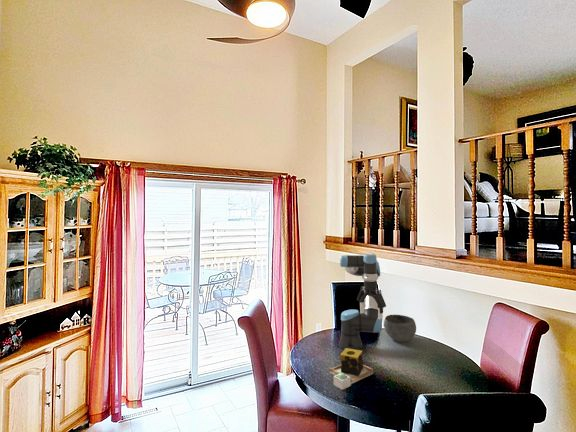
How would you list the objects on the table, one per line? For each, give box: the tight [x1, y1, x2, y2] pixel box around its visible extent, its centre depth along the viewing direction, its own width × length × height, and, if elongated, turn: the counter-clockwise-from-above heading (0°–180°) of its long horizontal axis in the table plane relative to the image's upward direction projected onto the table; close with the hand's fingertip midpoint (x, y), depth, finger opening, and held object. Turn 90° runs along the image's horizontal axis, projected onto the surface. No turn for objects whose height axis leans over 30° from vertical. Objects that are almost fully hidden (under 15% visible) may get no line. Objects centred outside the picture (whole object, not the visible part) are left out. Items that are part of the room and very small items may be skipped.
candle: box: [340, 348, 364, 376], centre depth 177 cm, size 10×10×10 cm
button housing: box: [333, 374, 351, 391], centre depth 164 cm, size 6×6×4 cm
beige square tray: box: [328, 363, 374, 385], centre depth 176 cm, size 16×18×2 cm
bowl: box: [383, 314, 417, 343], centre depth 220 cm, size 21×21×15 cm
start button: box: [338, 373, 345, 380], centre depth 164 cm, size 4×4×4 cm
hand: (371, 315), depth 191 cm, fingers open, 13 cm apart
